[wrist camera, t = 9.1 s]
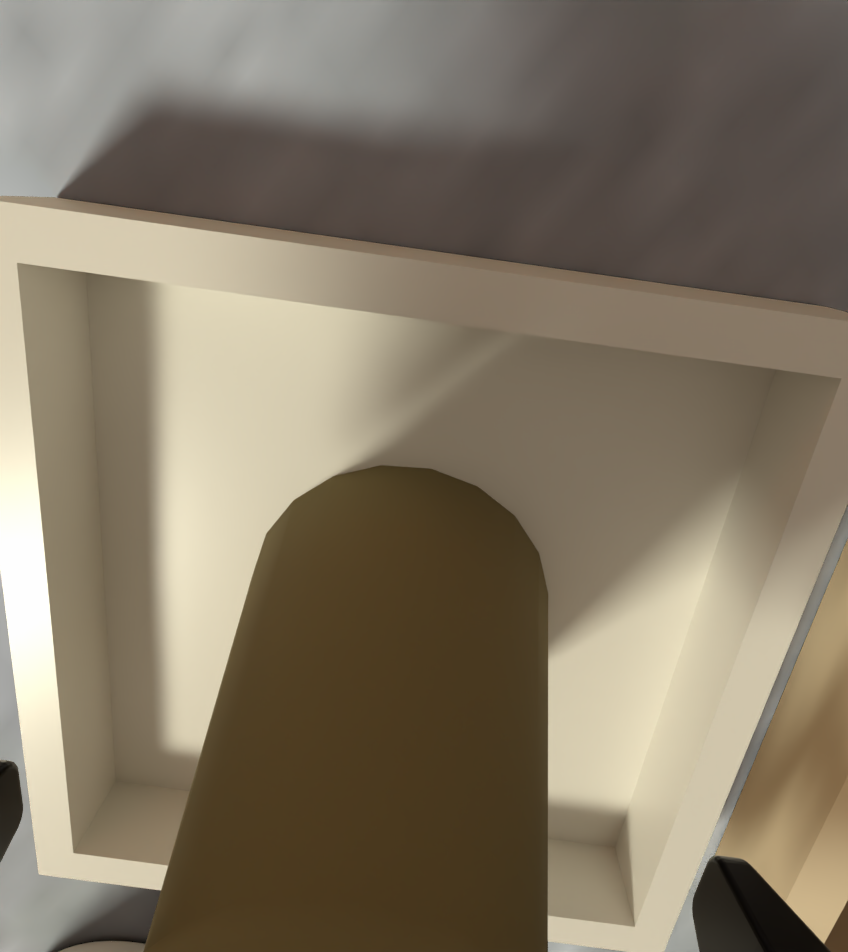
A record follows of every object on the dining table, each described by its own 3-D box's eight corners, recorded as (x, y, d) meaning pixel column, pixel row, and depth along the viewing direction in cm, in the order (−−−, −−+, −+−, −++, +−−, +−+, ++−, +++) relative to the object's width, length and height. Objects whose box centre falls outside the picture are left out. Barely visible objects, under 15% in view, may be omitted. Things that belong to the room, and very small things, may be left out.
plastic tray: (633, 853, 17) (662, 956, 14) (96, 781, 17) (39, 874, 14) (826, 306, 12) (918, 330, 9) (54, 196, 12) (-47, 194, 9)
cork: (481, 416, 12) (625, 1562, 2) (588, 670, 14) (944, 1902, 4) (197, 531, 13) (-682, 1628, 3) (333, 750, 15) (82, 1868, 5)
